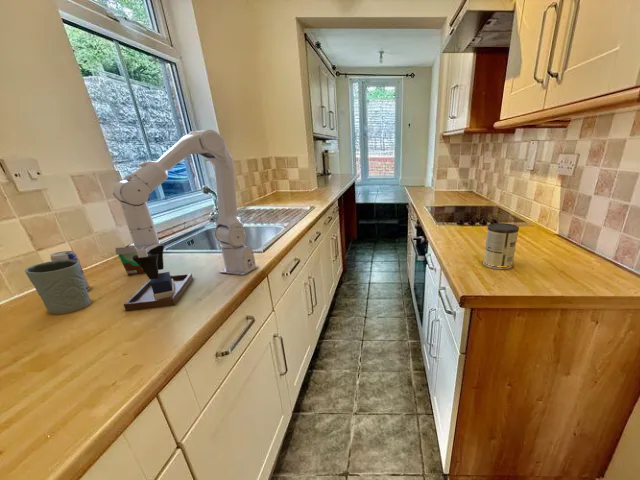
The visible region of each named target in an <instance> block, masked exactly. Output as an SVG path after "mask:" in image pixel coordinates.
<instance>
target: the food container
mask: <svg viewBox="0 0 640 480" xmlns="http://www.w3.org/2000/svg"><path fill="white" fill-rule="evenodd" d="M130 244H131V243H130ZM130 244H128V245H126V246H124V247H115V255H118V257H119V259H120V262H121V264H122V267H124V269H125V272H126V275H127V276H138V275H143V274H146V273H145V272H144V270H143V269H142V268H141V267H140V266H139V265H138V264H137V263H136V262H135V261H134V260H133V258H132V257H133V256H134V255H137V252H136V251H137V250H136V249H135V248H130V247H129V245H130Z"/></svg>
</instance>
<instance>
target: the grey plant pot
mask: <svg viewBox="0 0 640 480" xmlns="http://www.w3.org/2000/svg"><path fill="white" fill-rule="evenodd" d="M79 263H80V261H79V260H78V261H77V260H57V261H45V262H42V263H41V262H40V263H37V264H34V265H31V266H29V267H26V268H25V269H24V272H25V274H26V276H27V278H28V279H29V281H30V283H31V284H32V286H33V287H34V289H35V290H36V292H37V294H38V296H39V297H40V299H41V300H42V302H43V305H44V307H45V309H46V310H47V312H48V313H49V314H51V315H63V314H69V313H73V312H76V311H80V310H82V309H84V308H86V307H88V306H90V305H91V302H92V301H91V297H90V295H89V291H87V290H86V285H85V283H84V278H83V274H82V271H81V268H82V266H81V267H80V265H81V263H80V264H79Z"/></svg>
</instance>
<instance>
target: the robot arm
mask: <svg viewBox="0 0 640 480" xmlns="http://www.w3.org/2000/svg"><path fill="white" fill-rule="evenodd" d="M191 155H200V156H202V157H204V158H205V159H206V160H207V161H209V162H210V163H211V164H212V165H213V166H214V173H215V184H216V195H217V206H218V207H217V208H218V218H217V219H216V220H215V227H214V228H215V229H214V232H213V233H214V238H215V240H217V241H218V242H219V244H220V250H221V253H222V258H223V263H224V269H222V270H219V271H220V272H219V273H220V274H221V273H222V274H229V275H230V274H232V275H240V276H241V275H242V276H244V275H246V274H248V273H250V272H252V271H253V270H255V269H256V268H258V265H256V259H255V254H254V250H253V248H252V247H250V246H247V245H245V243H246V241H247V233H246V232H245V229H244V224H243V222H242V221H241V220H240V218H239V217H238V207H237V205H238V204H237V191H236V179H235V165H234V158H233V157H232V155H231V153H230V151H229V148H228V147H227V142H226V139H225V138H224V137H223V136H222V135H221V134H220V133H218V132H217V131H215V130H214V129H206V130H191V131H190V132H188V133H187V134H186V135H184V136H182V137H181V138H180V139H179V140H178V141H177V142H175V143H174V144H173V145H172V146H171V147H170V148H169V149H168V150H167V151H166V152H165V153H163V155H161V156H160V158H158V159H157V160H156V161H154V160H147V161H141V162H139V164H138V165H139V166H140V167H138V168H137V169H136V170H134V171H133V172H132V173H131V174H126V175H125V176H124V178H125V179H126V180H120V181H118V182H116V183H115V185H114V188H113V192H112V195H113V197H114V198H115V199H116V200H117V201H118V202H119V203H120V206H121V209H122V213H123V216H124V219H125V222H126V225H127V229H128V230H129V234H130V237H131V239H132V242H133V243H130V245H129V244H128V245H129V247H130V248H135V249H136V250H137V251H136V252H137V255H134V256H133V257H132V258H133V260H134V261H135V262H136V263H137V264H138V265H139V266H140V267H141V268H142V269H143V270H144V272H145V273H144V274H145V275H146V277H147V278H148V280H149V279H157V278H159V273H160V272H159V271H160V270H161V271H162V270H164V249H165V244H164V243H161V240H160V239H159V236H158V233H157V230H156V227H155V223H154V220H153V217H152V212H151V211H150V208H149V205H148V200H149V199H150V198H149V197H150V196H149V195H150V194H151V193H153V192H154V191H155V190H156V189H158V188H159V186H161V185H162V184H163V183H164V182H166V181H167V180H168V179H169V178H168V177H169V175H168V174H169V172H170V170H171V169H173V168H174V167H176V165H178V164H179V163H181V162H182V161H183V160H185V159H186V158H187V157H188V156H191Z"/></svg>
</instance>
